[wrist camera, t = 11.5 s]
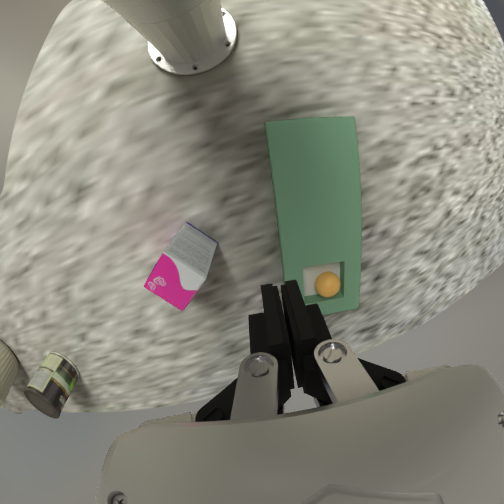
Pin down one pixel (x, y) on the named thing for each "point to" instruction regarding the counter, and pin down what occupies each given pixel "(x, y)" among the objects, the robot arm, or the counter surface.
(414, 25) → the counter surface
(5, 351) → the canister
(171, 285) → the supplement box
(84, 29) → the counter surface
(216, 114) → the counter surface
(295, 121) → the green
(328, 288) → the ball
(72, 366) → the coffee can
